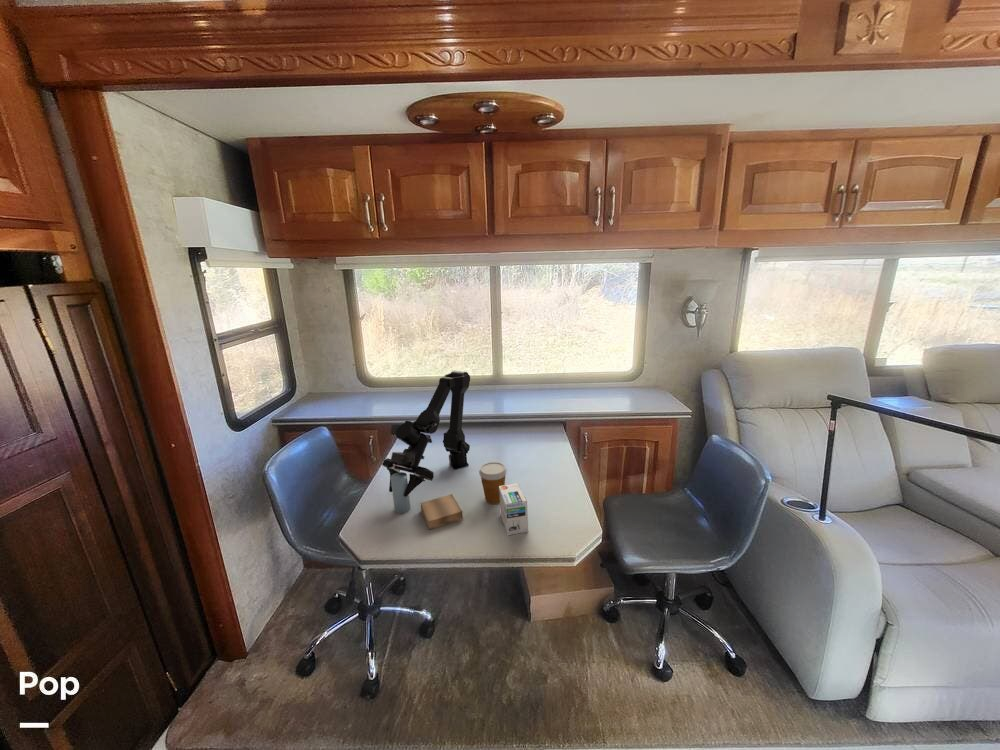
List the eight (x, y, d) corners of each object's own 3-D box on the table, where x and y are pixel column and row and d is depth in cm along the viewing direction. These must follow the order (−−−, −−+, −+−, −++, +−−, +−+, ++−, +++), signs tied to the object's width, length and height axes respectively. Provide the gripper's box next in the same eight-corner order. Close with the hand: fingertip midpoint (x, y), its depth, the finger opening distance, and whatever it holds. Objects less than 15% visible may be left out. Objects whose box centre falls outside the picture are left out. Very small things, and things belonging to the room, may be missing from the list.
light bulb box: (528, 532, 112) (527, 500, 109) (507, 536, 111) (505, 504, 108) (519, 511, 122) (518, 482, 120) (499, 515, 121) (498, 485, 118)
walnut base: (452, 501, 129) (451, 494, 129) (463, 519, 120) (462, 511, 119) (421, 510, 125) (420, 502, 124) (429, 529, 115) (428, 521, 115)
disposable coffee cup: (477, 495, 132) (474, 465, 129) (501, 488, 136) (500, 458, 133) (486, 510, 124) (484, 477, 121) (512, 502, 127) (511, 470, 124)
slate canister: (408, 503, 130) (405, 470, 127) (411, 511, 125) (408, 477, 122) (393, 507, 128) (389, 474, 125) (396, 515, 123) (391, 481, 120)
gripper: (382, 437, 128) (361, 481, 122) (424, 446, 120) (405, 494, 113) (400, 448, 137) (382, 490, 130) (441, 457, 128) (424, 503, 122)
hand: (397, 494), depth 124 cm, fingers open, 6 cm apart
